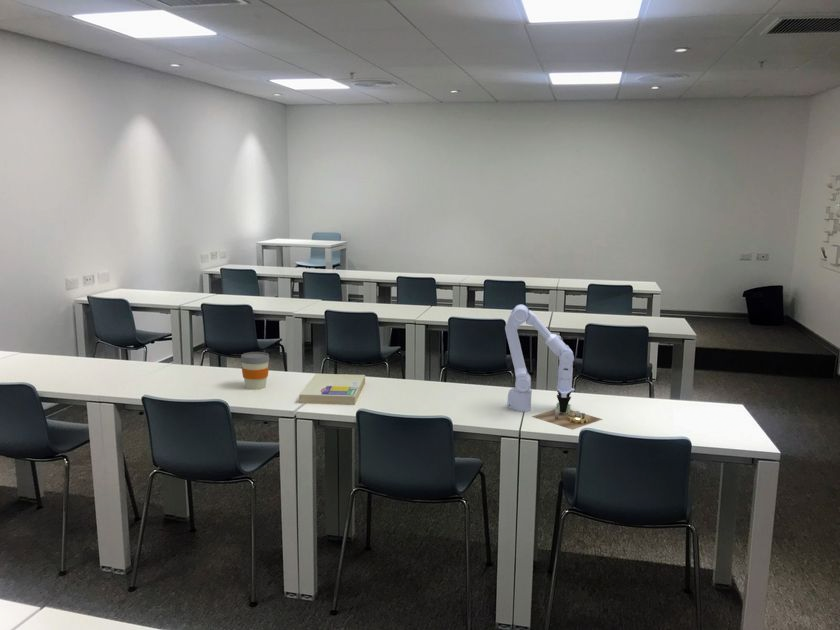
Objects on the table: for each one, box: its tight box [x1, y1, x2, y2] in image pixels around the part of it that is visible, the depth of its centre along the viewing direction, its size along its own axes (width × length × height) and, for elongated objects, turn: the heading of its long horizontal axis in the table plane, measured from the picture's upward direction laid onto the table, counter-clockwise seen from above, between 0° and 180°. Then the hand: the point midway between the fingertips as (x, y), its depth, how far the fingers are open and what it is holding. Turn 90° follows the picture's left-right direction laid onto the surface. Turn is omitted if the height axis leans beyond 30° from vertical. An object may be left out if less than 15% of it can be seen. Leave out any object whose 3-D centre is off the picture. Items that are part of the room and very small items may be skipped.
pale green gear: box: [555, 401, 572, 414], centre depth 279 cm, size 6×6×3 cm
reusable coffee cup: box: [240, 351, 270, 391], centre depth 309 cm, size 13×13×15 cm
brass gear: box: [566, 412, 589, 424], centre depth 268 cm, size 9×9×4 cm
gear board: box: [531, 408, 603, 430], centre depth 271 cm, size 20×20×5 cm
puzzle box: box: [299, 373, 366, 406], centre depth 303 cm, size 36×5×24 cm
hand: (563, 410), depth 279 cm, fingers closed on pale green gear, 6 cm apart
